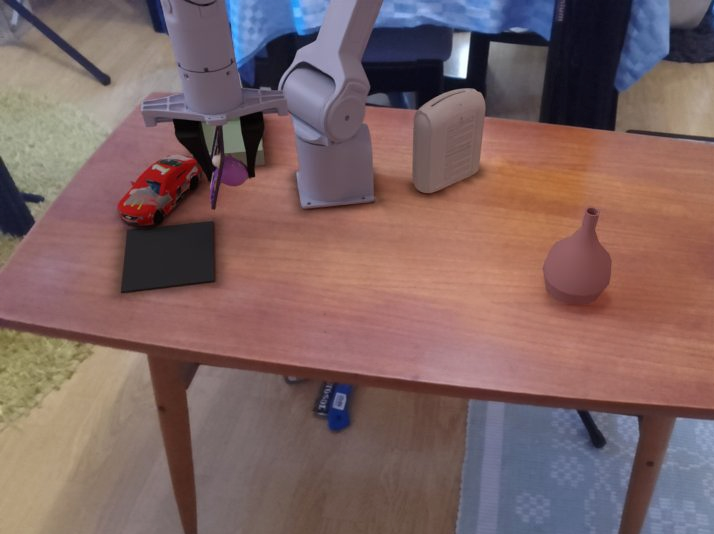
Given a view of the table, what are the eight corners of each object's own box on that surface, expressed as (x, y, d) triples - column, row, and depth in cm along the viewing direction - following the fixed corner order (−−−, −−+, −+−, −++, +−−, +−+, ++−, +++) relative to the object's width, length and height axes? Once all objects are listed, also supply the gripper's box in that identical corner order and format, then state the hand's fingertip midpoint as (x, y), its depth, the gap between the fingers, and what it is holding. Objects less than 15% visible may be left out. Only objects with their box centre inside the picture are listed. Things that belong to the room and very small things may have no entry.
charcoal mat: (213, 222, 85) (212, 220, 85) (214, 281, 78) (214, 280, 78) (127, 230, 83) (127, 229, 83) (121, 292, 76) (120, 291, 76)
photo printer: (462, 158, 97) (469, 75, 88) (483, 172, 95) (492, 89, 86) (407, 183, 93) (408, 99, 83) (427, 199, 91) (430, 114, 81)
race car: (150, 235, 82) (140, 208, 79) (111, 224, 83) (101, 197, 80) (211, 178, 91) (205, 151, 88) (176, 168, 92) (168, 142, 89)
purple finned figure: (211, 112, 76) (213, 157, 71) (258, 122, 79) (264, 166, 73) (202, 163, 81) (204, 209, 75) (247, 171, 83) (252, 216, 77)
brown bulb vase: (533, 271, 82) (550, 189, 73) (595, 271, 83) (619, 189, 74) (544, 318, 77) (563, 235, 68) (610, 317, 78) (637, 235, 69)
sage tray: (260, 118, 101) (257, 104, 100) (265, 165, 94) (262, 150, 92) (195, 123, 100) (191, 108, 98) (195, 171, 92) (191, 155, 90)
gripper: (125, 84, 64) (163, 202, 74) (283, 72, 67) (299, 188, 77) (129, 49, 68) (164, 165, 78) (277, 40, 71) (292, 153, 81)
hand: (231, 174), depth 78 cm, fingers closed on purple finned figure, 4 cm apart
